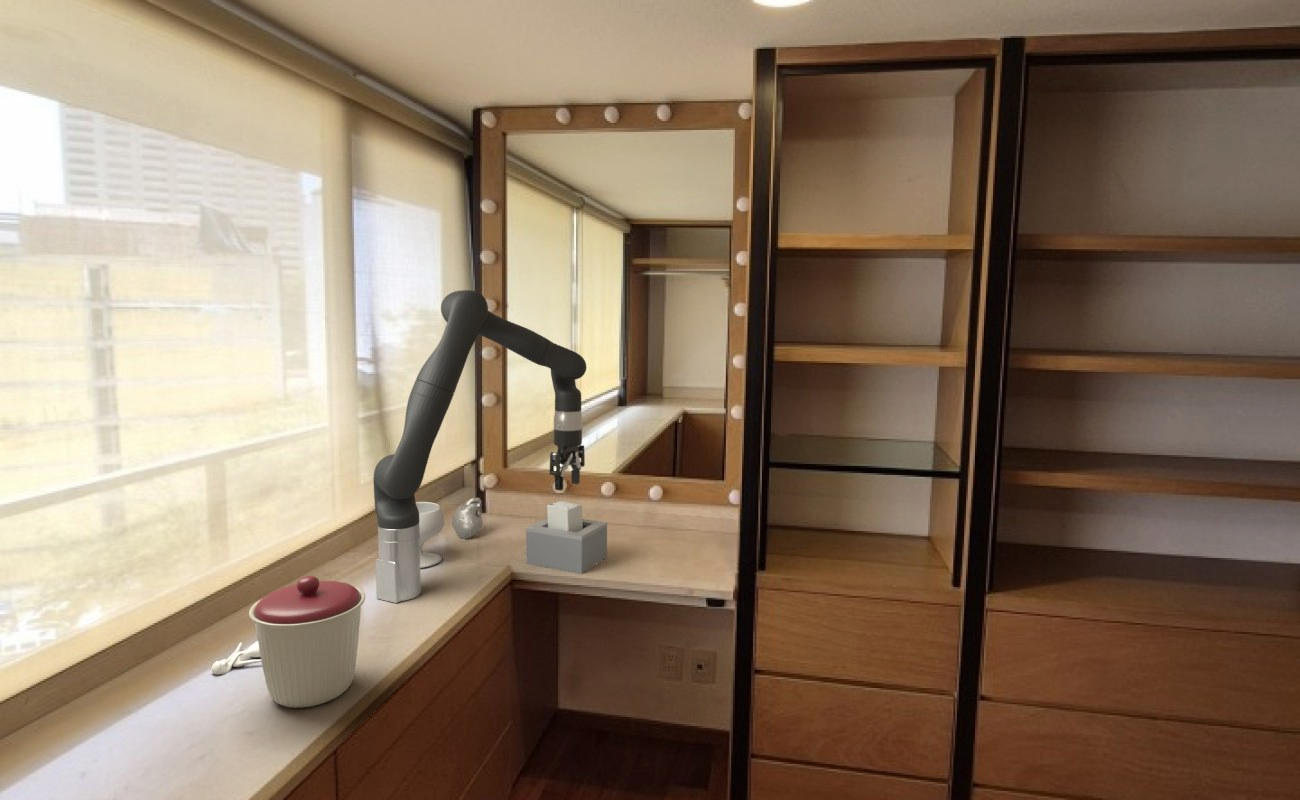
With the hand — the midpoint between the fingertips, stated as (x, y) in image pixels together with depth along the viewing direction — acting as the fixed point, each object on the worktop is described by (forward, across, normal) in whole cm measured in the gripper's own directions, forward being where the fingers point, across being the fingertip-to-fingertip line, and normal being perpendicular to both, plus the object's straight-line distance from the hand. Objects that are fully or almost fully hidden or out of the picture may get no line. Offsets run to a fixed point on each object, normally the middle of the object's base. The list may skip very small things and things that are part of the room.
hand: (567, 486), depth 190 cm
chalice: (+21, -19, +35) cm, 45 cm away
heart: (+21, +5, +38) cm, 44 cm away
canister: (+21, -78, +5) cm, 81 cm away
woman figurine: (+22, -73, +25) cm, 80 cm away
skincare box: (+20, 0, 0) cm, 20 cm away
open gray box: (+21, 0, 0) cm, 21 cm away
